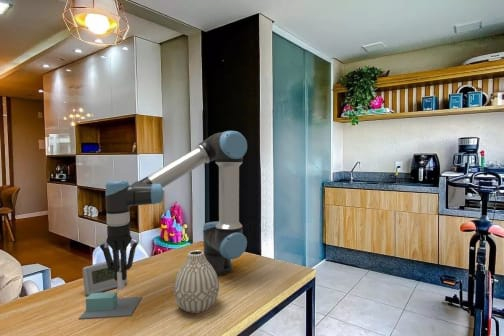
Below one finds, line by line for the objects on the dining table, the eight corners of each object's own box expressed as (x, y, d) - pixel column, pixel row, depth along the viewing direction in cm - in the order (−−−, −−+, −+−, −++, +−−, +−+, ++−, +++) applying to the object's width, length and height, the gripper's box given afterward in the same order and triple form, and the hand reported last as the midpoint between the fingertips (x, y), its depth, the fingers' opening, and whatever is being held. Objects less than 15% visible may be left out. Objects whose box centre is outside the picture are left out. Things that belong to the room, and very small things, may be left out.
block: (117, 291, 109) (91, 293, 108) (112, 297, 105) (85, 299, 104) (117, 303, 109) (91, 305, 108) (112, 310, 105) (85, 311, 104)
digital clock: (83, 297, 115) (82, 270, 115) (83, 288, 123) (82, 263, 123) (128, 288, 123) (127, 262, 123) (125, 280, 131) (124, 256, 131)
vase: (181, 296, 115) (180, 245, 114) (222, 296, 115) (221, 245, 114) (168, 319, 99) (166, 260, 98) (215, 319, 99) (214, 260, 98)
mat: (141, 298, 114) (141, 297, 114) (131, 316, 101) (130, 315, 101) (95, 300, 113) (95, 299, 113) (78, 319, 100) (78, 318, 100)
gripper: (140, 220, 110) (142, 283, 112) (103, 222, 109) (106, 285, 110) (134, 225, 103) (136, 292, 104) (94, 227, 102) (97, 294, 103)
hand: (121, 288), depth 107 cm, fingers closed
